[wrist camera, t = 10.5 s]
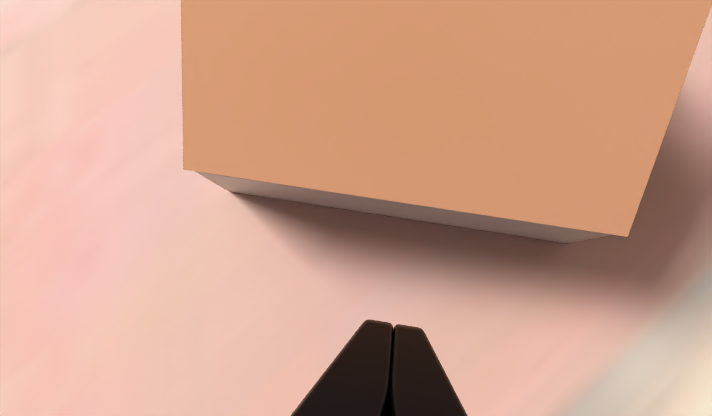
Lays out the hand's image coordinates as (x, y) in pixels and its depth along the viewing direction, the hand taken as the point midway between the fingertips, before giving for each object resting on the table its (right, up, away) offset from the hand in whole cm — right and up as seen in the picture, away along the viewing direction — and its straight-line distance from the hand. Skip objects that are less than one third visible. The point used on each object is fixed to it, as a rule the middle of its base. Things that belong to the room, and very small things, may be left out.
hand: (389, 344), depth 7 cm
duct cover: (+1, +7, +7) cm, 10 cm away
